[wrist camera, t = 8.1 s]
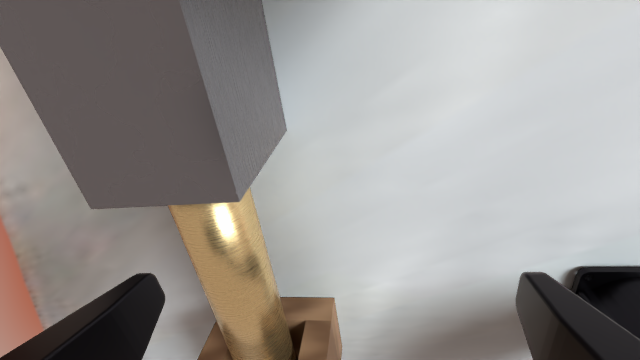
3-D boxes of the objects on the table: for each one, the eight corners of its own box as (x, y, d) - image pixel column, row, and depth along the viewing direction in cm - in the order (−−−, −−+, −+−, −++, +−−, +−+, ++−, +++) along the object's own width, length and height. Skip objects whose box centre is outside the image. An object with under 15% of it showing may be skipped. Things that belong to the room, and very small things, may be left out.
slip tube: (243, 100, 16) (205, 128, 12) (305, 352, 25) (295, 412, 21) (167, 108, 17) (110, 137, 13) (255, 350, 26) (236, 407, 22)
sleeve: (241, -105, 14) (116, -209, 7) (286, 130, 19) (239, 202, 12) (110, -74, 15) (-103, -138, 8) (185, 139, 20) (90, 209, 13)
